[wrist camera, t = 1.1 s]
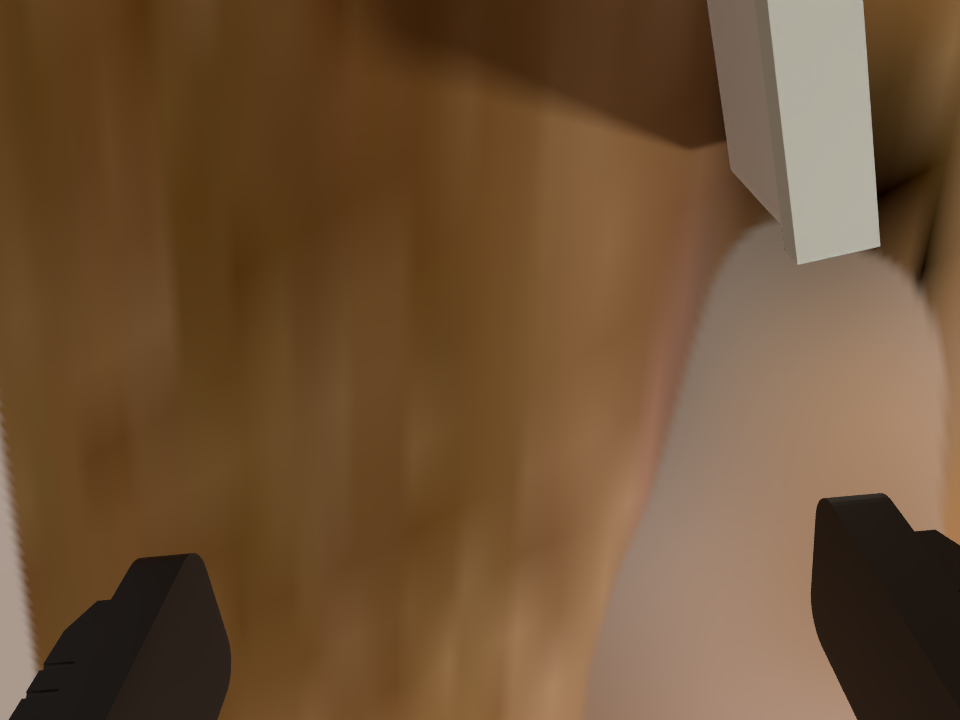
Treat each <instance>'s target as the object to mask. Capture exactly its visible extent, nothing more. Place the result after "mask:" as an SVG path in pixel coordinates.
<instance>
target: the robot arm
mask: <svg viewBox="0 0 960 720" xmlns="http://www.w3.org/2000/svg"><path fill="white" fill-rule="evenodd" d="M811 605H812V613H813V619H814V624H815V628H816V631H817V635H818V638H819V640H820V643H821V645H822V647H823V650H824V652H825V654H826V656H827V658H828V660H829V662H830V664H831V666H832V668H833V670H834V672H835V674H836V676H837V678H838V681H839V683H840V685H841V687H842V689H843V691H844V693H845V695H846V697H847V699H848V701H849V703H850V705H851V708H852V709H853V712H854V714H855V716H856V718H857V720H960V545H958V544H957V543H955V542H954V541H952V540H950V539H949V538H947V537H946V536H944V535H943V534H941V533H940V532H938V531H937V530H927V531H916V532H914V530H913V529H912V528H911V526H910V525H909V524H908V522H907V521H906V520H905V518H904V517H903V515H902V514H901V513H900V511H899V510H898V509H897V507H896V506H895V505H894V503H893V502H892V501H891V499H890V498H889V497H888V496H887V495H885V494H883V493H878V494H867V495H855V496H844V497H833V498H823V499H821V500H820V501H819V503H818V505H817V510H816V519H815V537H814V552H813V567H812V583H811ZM230 674H231V652H230V645H229V640H228V637H227V634H226V630H225V627H224V624H223V621H222V618H221V614H220V611H219V608H218V605H217V602H216V598H215V595H214V592H213V589H212V586H211V583H210V579H209V576H208V573H207V570H206V567H205V564H204V562H203V560H202V558H201V557H200V556H199V555H198V554H195V553H190V554H179V555H168V556H157V557H146V558H139V559H137V560H135V561H134V562H133V563H132V565H131V566H130V568H129V570H128V571H127V573H126V575H125V577H124V578H123V580H122V582H121V583H120V585H119V587H118V589H117V590H116V592H115V594H114V595H113V597H112V599H111V600H102V601H97V602H96V603H95V604H94V605H92V606H91V607H90V608H89V609H88V610H87V611H86V612H85V613H83V614H82V615H81V616H80V617H79V618H78V619H77V620H76V621H75V622H73V623H72V624H71V625H70V626H69V627H68V628H67V629H66V630H65V631H64V632H63V634H62V635H61V637H60V638H59V640H58V642H57V643H56V645H55V646H54V648H53V650H52V651H51V653H50V654H49V656H48V658H47V659H46V661H45V662H44V669H43V670H41V671H39V672H38V674H37V675H36V677H35V678H34V680H33V682H32V683H31V685H30V687H29V688H28V690H27V692H26V693H27V696H26V699H21V701H20V702H19V704H18V706H17V707H16V709H15V711H14V712H13V714H12V715H11V717H10V719H9V720H217V719H218V716H219V713H220V710H221V707H222V705H223V702H224V699H225V696H226V693H227V690H228V686H229V682H230Z"/></svg>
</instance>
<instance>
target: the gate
mask: <svg viewBox="0 0 960 720" xmlns="http://www.w3.org/2000/svg"><path fill="white" fill-rule="evenodd" d="M707 6H708V13H709V20H710V27H711V34H712V41H713V48H714V55H715V62H716V69H717V76H718V83H719V90H720V97H721V104H722V111H723V118H724V125H725V132H726V139H727V146H728V153H729V160H730V167H731V171H732V172H733V173H734V174H735V175H736V176H737V177H738V178H739V179H740V181H741V182H742V183H743V184H744V185H745V186H746V187H747V188H748V189H749V190H750V192H751V193H752V194H753V195H754V196H755V197H756V198H757V199H758V200H759V201H760V202H761V204H762V205H763V206H764V207H765V208H766V209H767V210H768V211H769V212H770V213H771V215H772V216H773V217H774V218H775V219H776V220H777V221H778V222H779V223H780V224H781V226H782V232H783V241H784V249H785V251H786V252H787V253H788V254H789V255H790V256H791V258H792V259H793V260H794V261H795V262H796V263H797V264H798V265H799V264H804V263H808V262H813V261H817V260H821V259H826V258H830V257H835V256H839V255H844V254H848V253H853V252H857V251H861V250H866V249H870V248H875V247H879V246H880V235H879V221H878V207H877V193H876V179H875V165H874V150H873V136H872V122H871V108H870V94H869V80H868V66H867V52H866V38H865V23H864V9H863V0H707Z"/></svg>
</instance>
